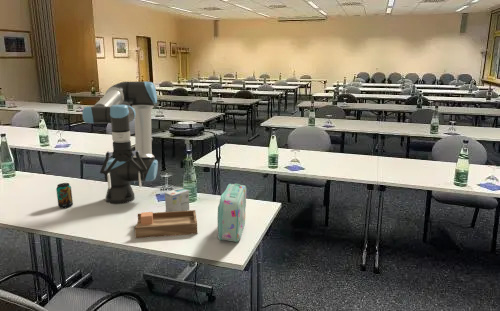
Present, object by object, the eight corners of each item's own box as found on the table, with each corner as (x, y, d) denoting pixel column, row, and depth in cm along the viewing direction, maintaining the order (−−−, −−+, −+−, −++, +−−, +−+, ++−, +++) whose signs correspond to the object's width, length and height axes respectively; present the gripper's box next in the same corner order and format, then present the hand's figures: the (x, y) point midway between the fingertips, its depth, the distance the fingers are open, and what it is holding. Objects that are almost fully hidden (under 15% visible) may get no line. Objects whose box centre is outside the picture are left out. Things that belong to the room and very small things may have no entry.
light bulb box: (182, 206, 212) (181, 187, 209) (189, 209, 207) (189, 190, 204) (165, 211, 205) (164, 191, 202) (172, 215, 200) (171, 195, 197)
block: (142, 220, 188) (141, 212, 186) (153, 219, 188) (152, 211, 187) (141, 224, 183) (140, 216, 182) (152, 224, 184) (152, 215, 183)
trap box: (138, 223, 190) (137, 213, 189) (195, 219, 195) (195, 210, 194) (135, 238, 175) (134, 227, 174) (197, 233, 180) (197, 223, 178)
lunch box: (226, 219, 195) (225, 178, 190) (246, 220, 194) (247, 178, 189) (215, 245, 170) (215, 197, 164) (239, 246, 169) (240, 198, 163)
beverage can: (67, 209, 207) (65, 187, 204) (55, 208, 208) (52, 186, 205) (75, 204, 213) (73, 183, 210) (64, 203, 215) (61, 182, 212)
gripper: (90, 143, 168) (94, 191, 174) (150, 141, 173) (153, 188, 178) (93, 139, 175) (97, 185, 181) (151, 137, 180) (153, 182, 185)
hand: (125, 187), depth 179 cm, fingers open, 12 cm apart
